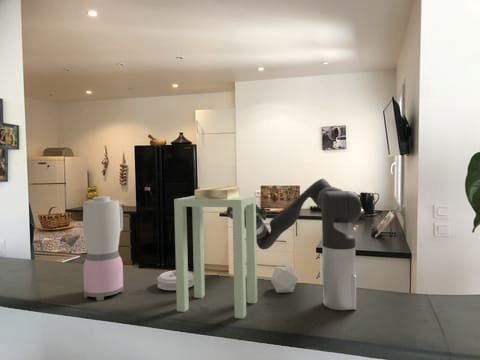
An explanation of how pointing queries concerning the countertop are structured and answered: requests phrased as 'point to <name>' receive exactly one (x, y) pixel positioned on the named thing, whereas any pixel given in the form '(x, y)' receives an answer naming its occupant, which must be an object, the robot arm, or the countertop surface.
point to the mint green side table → (198, 249)
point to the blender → (102, 247)
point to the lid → (172, 280)
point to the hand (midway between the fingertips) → (241, 205)
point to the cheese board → (217, 193)
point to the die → (284, 279)
